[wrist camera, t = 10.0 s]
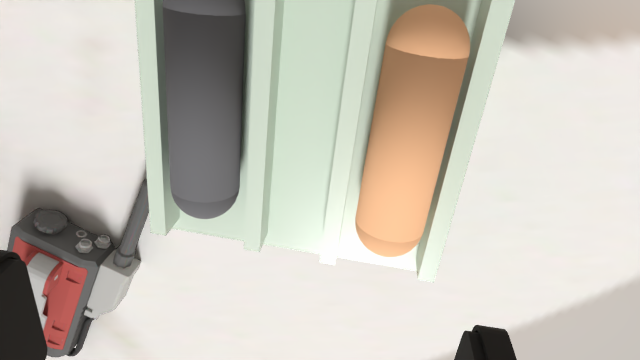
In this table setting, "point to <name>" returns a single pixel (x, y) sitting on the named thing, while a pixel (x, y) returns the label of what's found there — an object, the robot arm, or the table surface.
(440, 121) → the tan capsule
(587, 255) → the table surface
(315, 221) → the rack
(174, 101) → the gray pill-shaped rod
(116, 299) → the walkie-talkie
